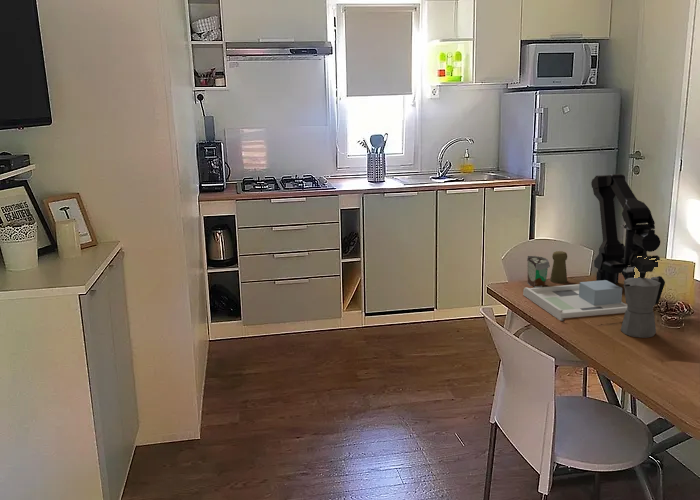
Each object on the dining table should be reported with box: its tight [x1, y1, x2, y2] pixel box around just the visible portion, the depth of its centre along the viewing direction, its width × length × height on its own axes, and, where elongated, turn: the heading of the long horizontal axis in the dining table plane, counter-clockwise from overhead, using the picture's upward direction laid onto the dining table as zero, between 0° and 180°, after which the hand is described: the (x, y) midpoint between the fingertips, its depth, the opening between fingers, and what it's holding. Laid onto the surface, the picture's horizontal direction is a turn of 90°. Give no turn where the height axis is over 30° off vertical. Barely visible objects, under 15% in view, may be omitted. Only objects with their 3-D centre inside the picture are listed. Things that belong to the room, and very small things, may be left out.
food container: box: [526, 255, 550, 288], centre depth 226 cm, size 12×6×10 cm, turn 179°
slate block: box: [578, 280, 623, 305], centre depth 208 cm, size 10×10×5 cm
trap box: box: [522, 283, 627, 322], centre depth 207 cm, size 26×26×3 cm
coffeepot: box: [620, 271, 666, 339], centre depth 180 cm, size 15×9×18 cm, turn 115°
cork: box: [549, 250, 568, 284], centre depth 232 cm, size 6×6×11 cm
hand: (631, 290), depth 210 cm, fingers closed
